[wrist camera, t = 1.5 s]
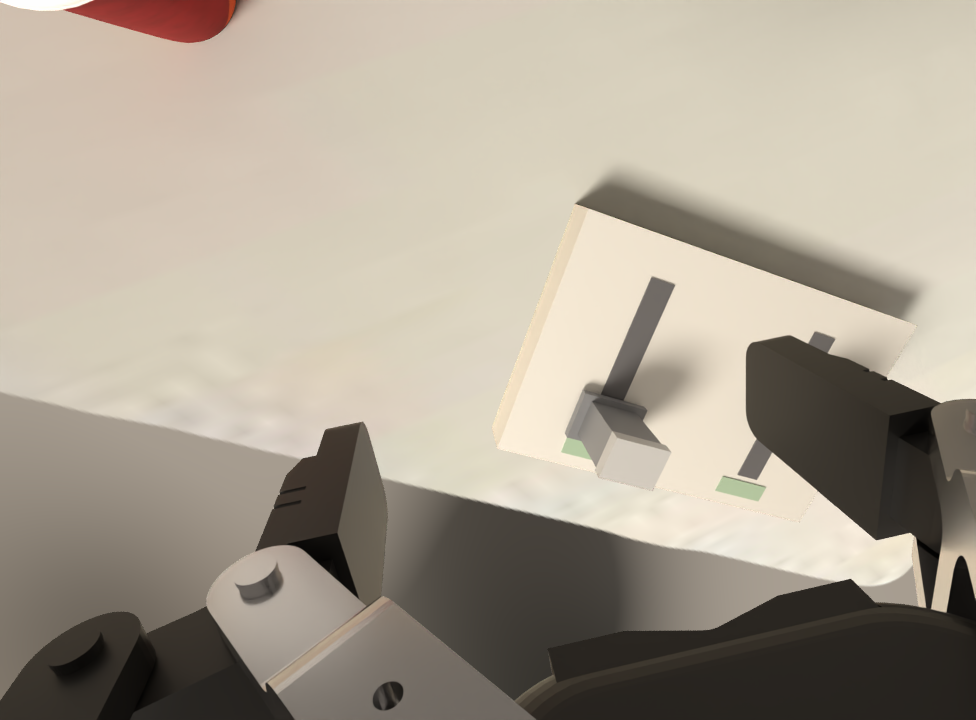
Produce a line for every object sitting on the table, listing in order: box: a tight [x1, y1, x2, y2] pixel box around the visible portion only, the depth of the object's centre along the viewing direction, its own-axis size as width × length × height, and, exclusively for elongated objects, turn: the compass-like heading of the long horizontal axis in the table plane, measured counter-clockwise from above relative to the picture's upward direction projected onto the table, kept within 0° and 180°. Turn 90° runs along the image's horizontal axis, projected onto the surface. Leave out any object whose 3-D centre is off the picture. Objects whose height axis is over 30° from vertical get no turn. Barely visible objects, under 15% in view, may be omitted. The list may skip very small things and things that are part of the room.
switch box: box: [492, 204, 917, 522], centre depth 38 cm, size 24×16×3 cm, turn 71°
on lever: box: [565, 390, 671, 491], centre depth 34 cm, size 4×3×6 cm
